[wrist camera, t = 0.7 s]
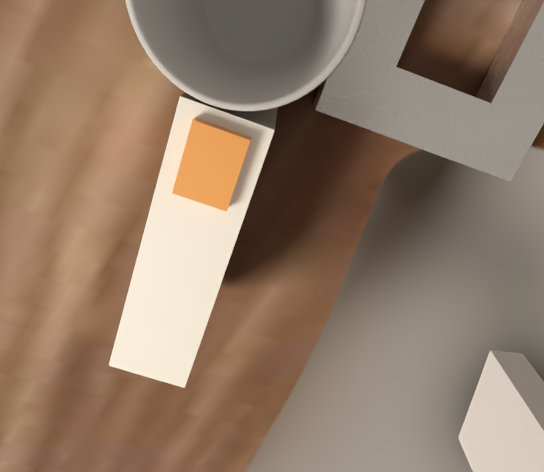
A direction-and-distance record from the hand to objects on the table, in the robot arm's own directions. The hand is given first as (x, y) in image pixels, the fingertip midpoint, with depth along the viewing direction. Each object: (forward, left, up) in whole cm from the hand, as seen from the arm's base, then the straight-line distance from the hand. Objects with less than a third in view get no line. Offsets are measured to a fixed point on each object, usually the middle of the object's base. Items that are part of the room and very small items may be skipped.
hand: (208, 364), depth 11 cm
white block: (-2, -3, -20) cm, 20 cm away
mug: (-4, +9, -20) cm, 22 cm away
